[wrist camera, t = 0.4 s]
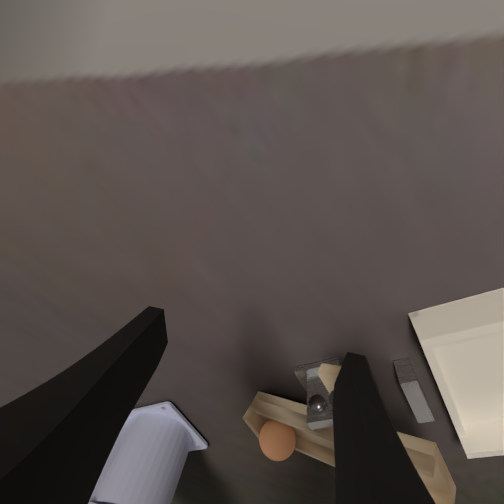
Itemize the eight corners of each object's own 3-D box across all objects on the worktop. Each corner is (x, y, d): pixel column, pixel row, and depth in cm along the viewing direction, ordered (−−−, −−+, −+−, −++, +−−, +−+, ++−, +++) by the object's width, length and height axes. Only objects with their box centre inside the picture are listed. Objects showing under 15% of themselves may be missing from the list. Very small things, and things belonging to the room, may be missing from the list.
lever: (281, 423, 31) (268, 450, 29) (226, 347, 27) (206, 373, 25) (456, 487, 20) (450, 536, 18) (405, 376, 16) (392, 425, 15)
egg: (274, 431, 29) (265, 467, 27) (259, 410, 28) (247, 445, 26) (304, 432, 28) (297, 470, 25) (289, 410, 27) (280, 448, 24)
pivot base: (331, 425, 30) (335, 483, 25) (294, 367, 27) (290, 420, 23) (431, 410, 26) (455, 473, 22) (401, 341, 24) (421, 398, 19)
